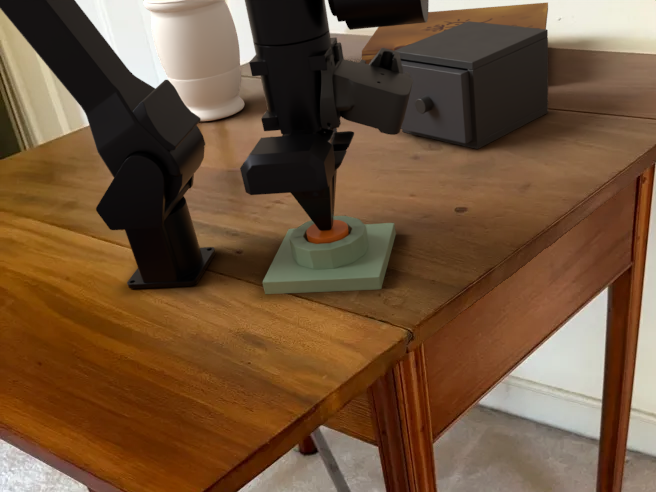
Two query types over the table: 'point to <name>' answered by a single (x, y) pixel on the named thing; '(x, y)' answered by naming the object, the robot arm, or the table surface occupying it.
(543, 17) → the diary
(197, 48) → the jar
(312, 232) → the button
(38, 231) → the table surface
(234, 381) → the table surface
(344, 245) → the panel
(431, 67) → the dark grey drawer
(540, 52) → the grey drawer box
